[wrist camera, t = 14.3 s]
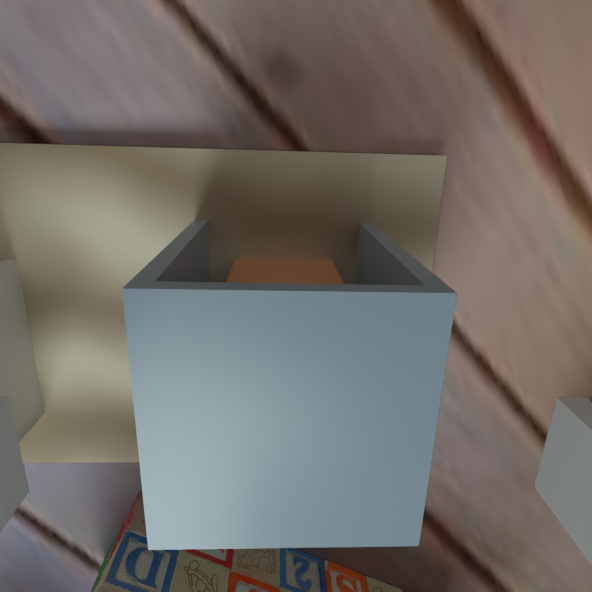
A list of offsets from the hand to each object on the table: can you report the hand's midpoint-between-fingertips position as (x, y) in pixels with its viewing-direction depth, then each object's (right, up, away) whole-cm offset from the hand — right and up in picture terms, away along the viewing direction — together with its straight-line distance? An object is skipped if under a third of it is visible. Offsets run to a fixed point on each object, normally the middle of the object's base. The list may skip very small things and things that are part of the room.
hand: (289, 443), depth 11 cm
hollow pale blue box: (0, +3, +10) cm, 11 cm away
